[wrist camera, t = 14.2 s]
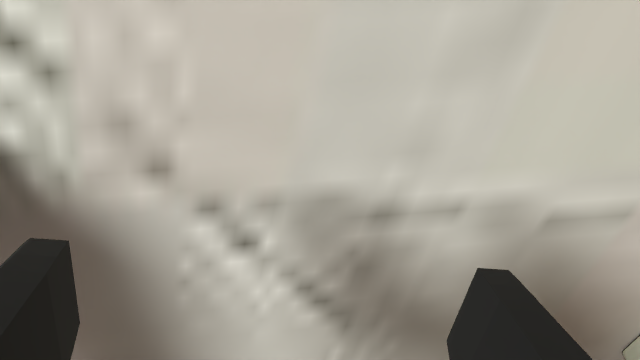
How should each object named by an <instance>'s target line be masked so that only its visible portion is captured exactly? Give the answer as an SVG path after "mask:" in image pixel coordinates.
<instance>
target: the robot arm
mask: <svg viewBox="0 0 640 360" xmlns="http://www.w3.org/2000/svg"><path fill="white" fill-rule="evenodd" d="M79 324H80V321H79V313H78V306H77V298H76V291H75V284H74V276H73V269H72V261H71V254H70V247H69V241H64V240H49V239H34V238H30V239H29V240H27V241H26V242H25V243H23V244H22V245H21V246H20V247H19V248H18V249H17V250H16V251H15V252H14V253H13V254H12V255H11V256H10V257H9V258H8V259H7V260H6V261H5V262H4V263H3V264H2V265H1V266H0V360H70V359H71V356H72V352H73V348H74V344H75V340H76V336H77V332H78V328H79ZM447 345H448V352H449V358H450V360H592V358H591V357H590V356H589V355H588V354H587V353H586V352H585V351H584V350H583V349H582V348H581V347H580V346H579V345H578V344H577V343H576V342H575V341H574V340H573V338H572V337H571V336H570V335H569V334H568V333H567V332H566V331H565V330H564V329H563V328H562V327H561V326H560V324H559V323H558V322H557V321H556V320H555V319H554V318H553V317H552V316H551V315H550V314H549V313H548V311H547V310H546V309H545V308H544V307H543V306H542V305H541V304H540V303H539V302H538V301H537V299H536V298H535V297H534V296H533V295H532V294H531V293H530V292H529V291H528V290H527V289H526V288H525V286H524V285H523V284H522V283H521V282H520V281H519V280H518V279H517V278H516V277H515V276H514V275H513V274H512V273H511V272H510V271H509V270H498V269H483V268H477V271H476V273H475V275H474V278H473V280H472V282H471V285H470V287H469V289H468V292H467V294H466V296H465V299H464V301H463V303H462V306H461V308H460V310H459V313H458V315H457V317H456V320H455V322H454V324H453V327H452V329H451V331H450V334H449V336H448V338H447Z"/></svg>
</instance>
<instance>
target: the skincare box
mask: <svg viewBox="0 0 640 360" xmlns="http://www.w3.org/2000/svg"><path fill="white" fill-rule="evenodd" d="M623 356H624V358H625V359H626V360H640V336H639V337H638V338H637V339H636V340H635V341H634V342H633V343H631V344H630V345H629V346H628V347H627V348H626V349H625V350H624V351H623Z"/></svg>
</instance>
